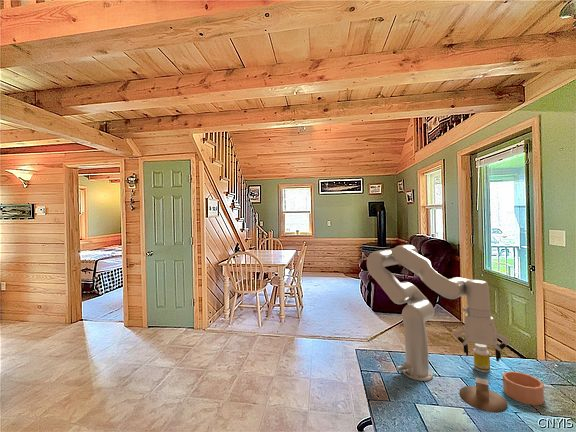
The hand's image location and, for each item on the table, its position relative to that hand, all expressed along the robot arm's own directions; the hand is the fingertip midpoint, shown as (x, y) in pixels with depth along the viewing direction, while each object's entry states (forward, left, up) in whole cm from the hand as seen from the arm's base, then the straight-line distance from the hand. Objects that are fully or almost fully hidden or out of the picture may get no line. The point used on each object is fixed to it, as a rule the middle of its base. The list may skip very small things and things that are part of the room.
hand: (482, 357), depth 108 cm
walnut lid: (0, 0, -16) cm, 16 cm away
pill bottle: (+19, +18, -16) cm, 31 cm away
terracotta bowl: (+17, -2, -16) cm, 23 cm away
